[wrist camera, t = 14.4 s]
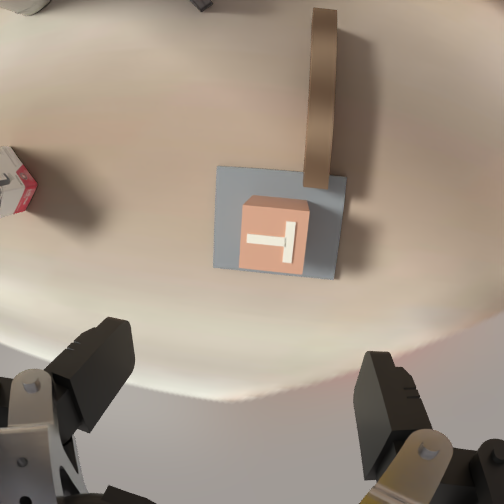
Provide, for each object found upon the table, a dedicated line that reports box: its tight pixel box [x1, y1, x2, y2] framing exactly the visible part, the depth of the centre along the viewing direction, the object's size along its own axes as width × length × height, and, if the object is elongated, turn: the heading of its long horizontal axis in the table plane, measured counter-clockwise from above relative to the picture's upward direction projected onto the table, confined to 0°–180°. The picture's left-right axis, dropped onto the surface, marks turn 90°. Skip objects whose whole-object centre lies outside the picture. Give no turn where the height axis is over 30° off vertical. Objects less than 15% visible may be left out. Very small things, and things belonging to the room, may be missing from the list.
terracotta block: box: [239, 195, 310, 275], centre depth 27 cm, size 5×5×6 cm
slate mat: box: [213, 166, 347, 280], centre depth 31 cm, size 10×12×1 cm
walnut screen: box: [303, 8, 337, 190], centre depth 25 cm, size 16×2×4 cm, turn 177°
